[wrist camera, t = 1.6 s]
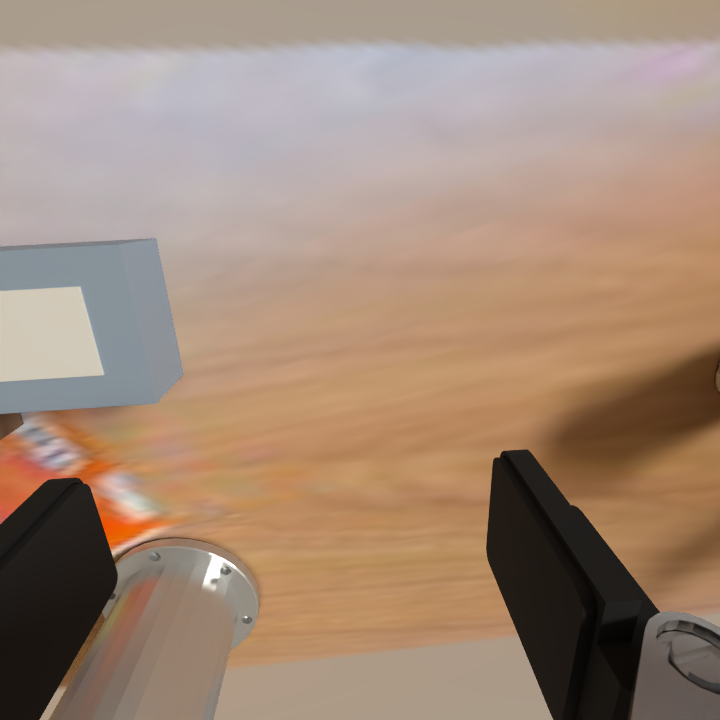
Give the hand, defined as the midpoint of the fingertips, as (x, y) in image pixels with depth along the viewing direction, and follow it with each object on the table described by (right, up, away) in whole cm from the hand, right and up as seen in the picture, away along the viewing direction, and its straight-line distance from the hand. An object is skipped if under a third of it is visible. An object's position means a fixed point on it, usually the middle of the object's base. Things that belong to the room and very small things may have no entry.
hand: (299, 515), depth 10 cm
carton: (-16, +7, +18) cm, 25 cm away
